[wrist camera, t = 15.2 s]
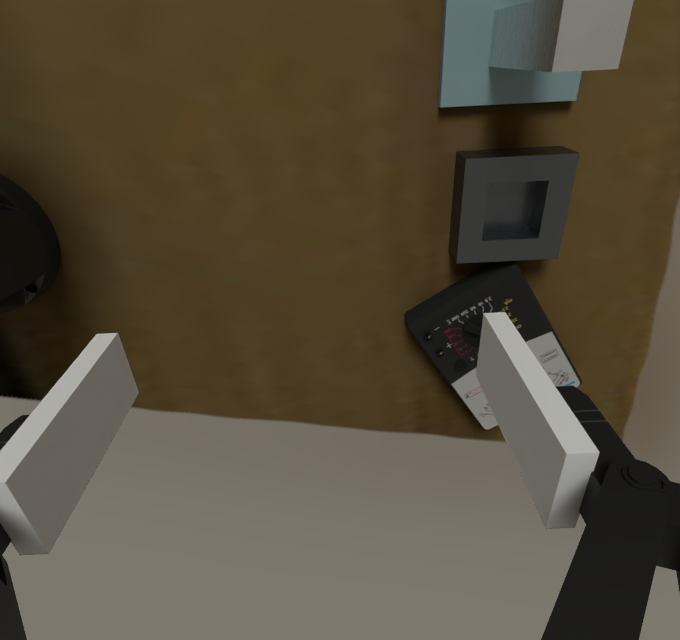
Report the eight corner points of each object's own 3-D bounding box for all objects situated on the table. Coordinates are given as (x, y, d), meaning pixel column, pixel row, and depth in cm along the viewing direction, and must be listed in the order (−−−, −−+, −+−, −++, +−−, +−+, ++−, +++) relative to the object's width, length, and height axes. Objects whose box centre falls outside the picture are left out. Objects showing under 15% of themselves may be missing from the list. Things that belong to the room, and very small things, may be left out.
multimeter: (506, 249, 49) (522, 268, 45) (571, 367, 57) (591, 393, 53) (401, 311, 53) (407, 334, 48) (476, 414, 61) (487, 442, 56)
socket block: (448, 250, 49) (456, 263, 46) (456, 151, 44) (465, 158, 40) (543, 245, 48) (557, 258, 45) (562, 146, 43) (579, 153, 40)
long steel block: (488, 66, 39) (551, 72, 28) (494, 10, 37) (565, -9, 26) (535, 64, 39) (617, 68, 28) (544, 7, 37) (636, -12, 26)
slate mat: (438, 106, 42) (440, 107, 41) (445, -32, 36) (448, -34, 36) (571, 99, 41) (576, 100, 41) (597, -40, 36) (603, -42, 35)
